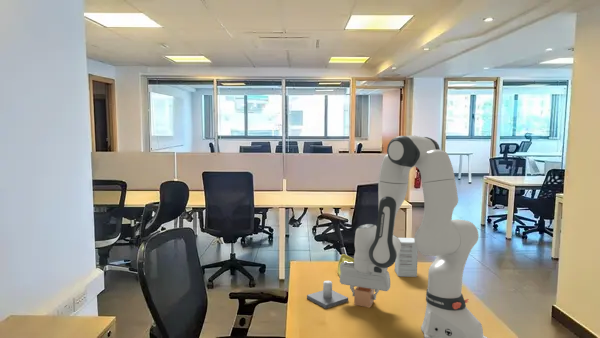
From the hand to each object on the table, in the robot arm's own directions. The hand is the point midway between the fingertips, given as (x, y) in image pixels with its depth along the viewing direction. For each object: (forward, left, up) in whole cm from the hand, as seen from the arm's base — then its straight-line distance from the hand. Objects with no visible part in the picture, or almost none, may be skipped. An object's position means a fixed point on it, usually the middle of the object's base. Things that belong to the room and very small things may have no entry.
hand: (364, 297), depth 170 cm
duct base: (+11, +10, -2) cm, 15 cm away
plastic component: (+27, -19, -3) cm, 34 cm away
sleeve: (0, 0, -2) cm, 2 cm away
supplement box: (+13, -42, -2) cm, 44 cm away
